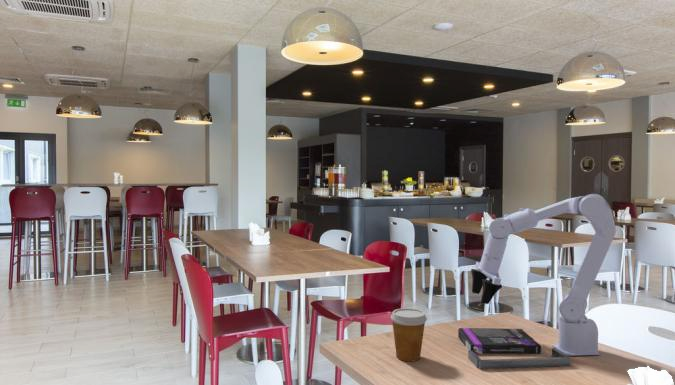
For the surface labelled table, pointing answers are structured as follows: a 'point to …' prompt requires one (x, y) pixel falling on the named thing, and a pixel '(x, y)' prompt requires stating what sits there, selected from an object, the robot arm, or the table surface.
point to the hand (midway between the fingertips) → (479, 297)
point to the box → (498, 341)
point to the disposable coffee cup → (408, 333)
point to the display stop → (522, 361)
